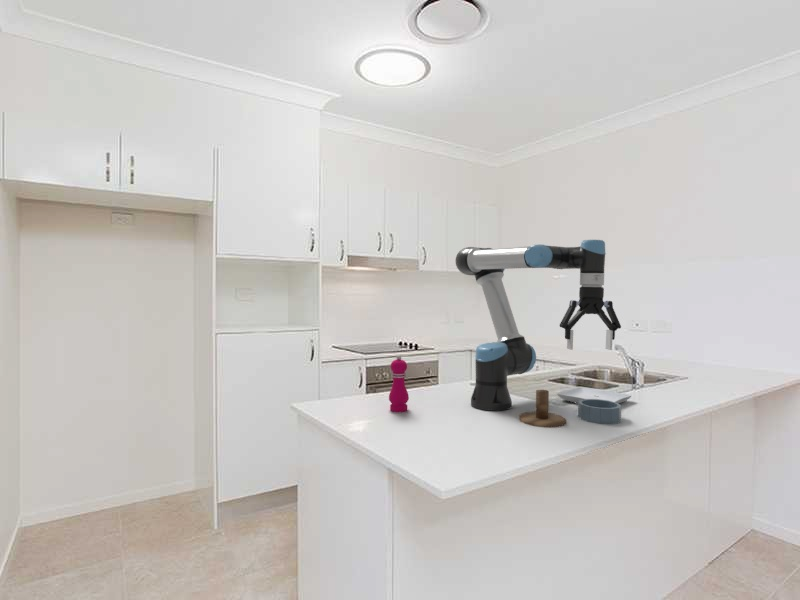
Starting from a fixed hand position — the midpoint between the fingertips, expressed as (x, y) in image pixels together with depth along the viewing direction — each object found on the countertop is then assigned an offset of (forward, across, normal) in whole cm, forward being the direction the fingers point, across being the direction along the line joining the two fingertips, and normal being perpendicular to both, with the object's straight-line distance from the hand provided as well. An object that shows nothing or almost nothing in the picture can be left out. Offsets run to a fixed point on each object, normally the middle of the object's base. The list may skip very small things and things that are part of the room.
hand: (589, 349), depth 153 cm
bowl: (+24, +5, 0) cm, 24 cm away
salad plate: (+25, +15, +23) cm, 37 cm away
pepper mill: (+25, -63, +16) cm, 70 cm away
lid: (+24, -16, -1) cm, 29 cm away
